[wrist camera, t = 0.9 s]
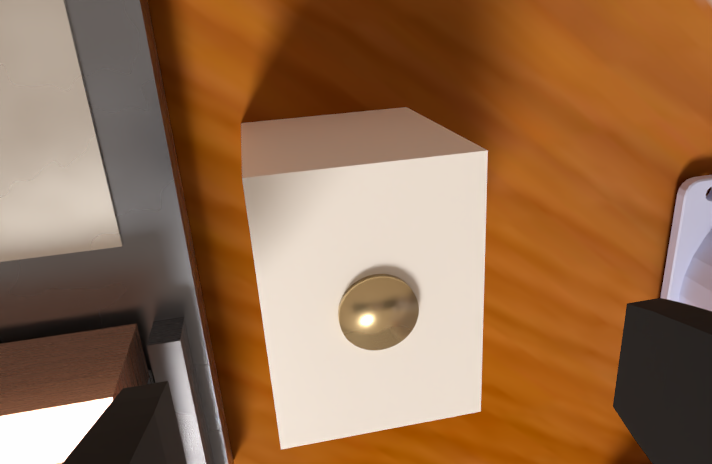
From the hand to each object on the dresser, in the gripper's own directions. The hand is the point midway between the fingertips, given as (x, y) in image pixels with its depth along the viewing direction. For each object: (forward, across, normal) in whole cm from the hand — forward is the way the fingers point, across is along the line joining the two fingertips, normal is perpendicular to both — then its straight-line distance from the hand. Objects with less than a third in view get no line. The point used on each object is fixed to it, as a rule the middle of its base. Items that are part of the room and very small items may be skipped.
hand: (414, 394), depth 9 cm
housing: (+8, 0, 0) cm, 8 cm away
